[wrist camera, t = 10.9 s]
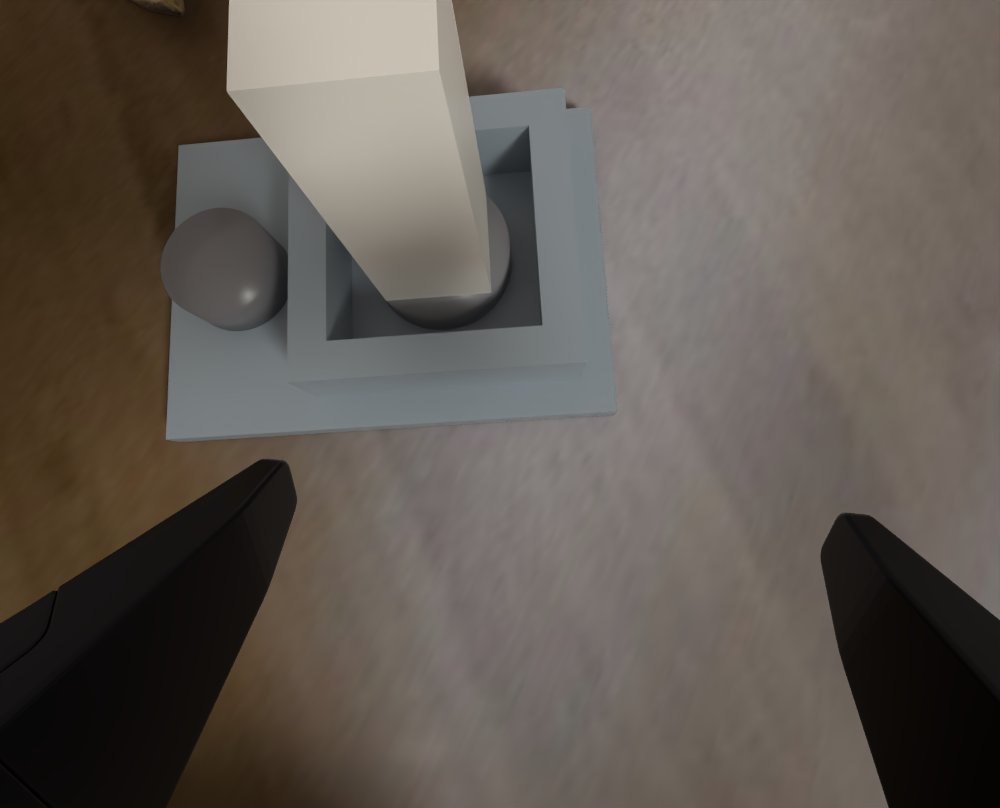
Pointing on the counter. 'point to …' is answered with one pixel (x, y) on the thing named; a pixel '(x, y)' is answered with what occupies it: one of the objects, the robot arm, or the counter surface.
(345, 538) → the counter surface
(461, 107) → the cream square pillar
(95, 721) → the robot arm
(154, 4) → the ceramic sculpture
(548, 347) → the housing
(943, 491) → the counter surface
